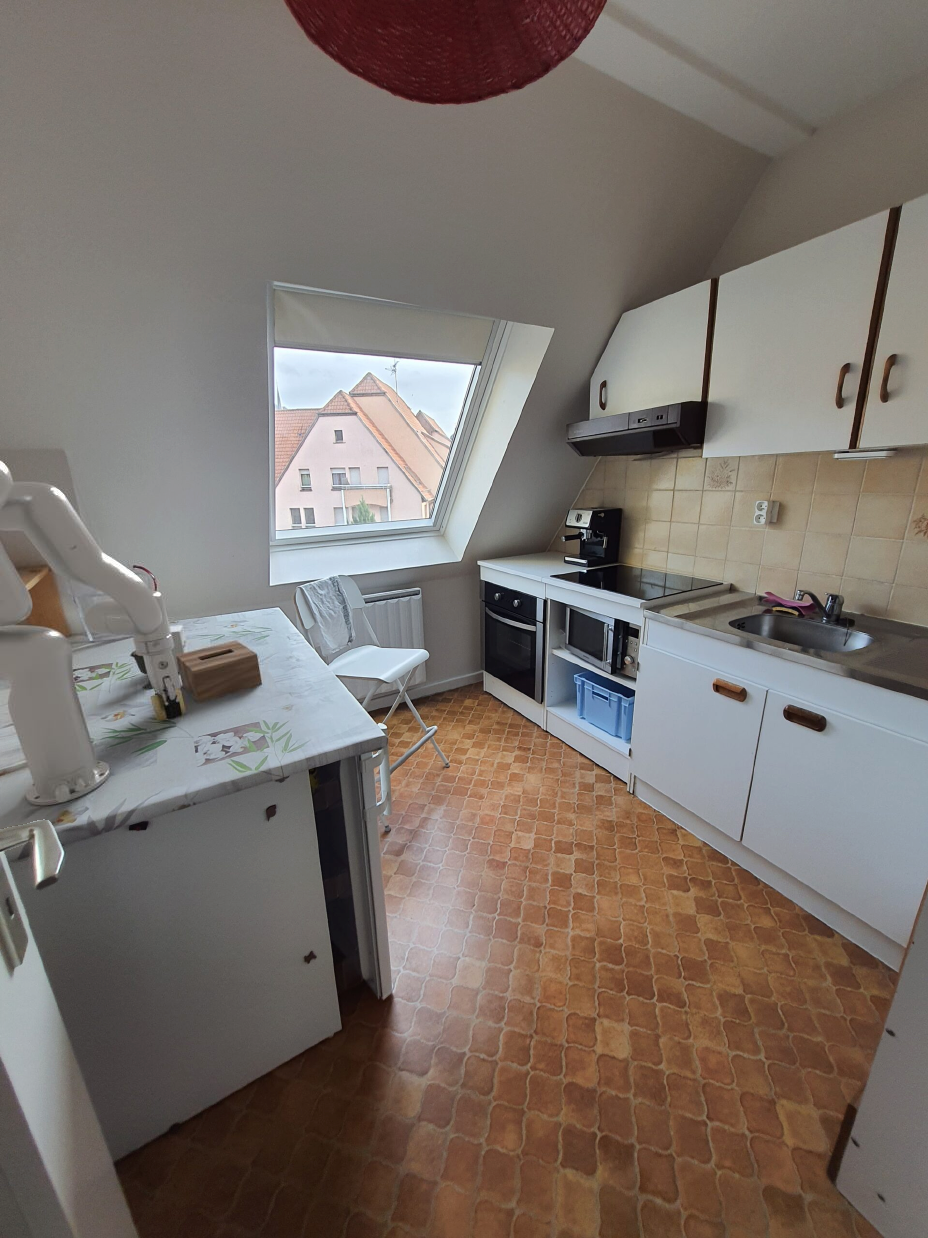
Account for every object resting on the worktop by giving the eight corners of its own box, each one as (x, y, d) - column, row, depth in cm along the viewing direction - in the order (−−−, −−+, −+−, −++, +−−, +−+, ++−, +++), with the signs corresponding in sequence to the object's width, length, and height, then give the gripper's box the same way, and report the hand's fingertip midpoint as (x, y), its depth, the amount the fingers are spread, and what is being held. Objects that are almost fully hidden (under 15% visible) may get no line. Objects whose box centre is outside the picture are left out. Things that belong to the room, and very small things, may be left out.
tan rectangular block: (185, 713, 118) (181, 691, 117) (158, 722, 114) (152, 699, 113) (183, 710, 120) (178, 688, 118) (156, 718, 116) (150, 696, 114)
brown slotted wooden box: (262, 683, 133) (256, 653, 131) (199, 703, 123) (192, 671, 120) (241, 668, 145) (236, 640, 142) (182, 685, 134) (175, 655, 132)
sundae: (153, 691, 131) (141, 639, 126) (132, 689, 132) (119, 638, 128) (172, 681, 137) (160, 631, 132) (152, 680, 138) (140, 630, 134)
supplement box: (188, 671, 144) (179, 631, 140) (159, 675, 141) (150, 634, 138) (191, 662, 151) (183, 624, 147) (164, 666, 148) (155, 627, 144)
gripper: (182, 648, 108) (197, 718, 113) (163, 632, 120) (177, 695, 125) (143, 658, 103) (161, 730, 108) (127, 639, 115) (144, 705, 120)
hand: (170, 711), depth 117 cm, fingers open, 7 cm apart
